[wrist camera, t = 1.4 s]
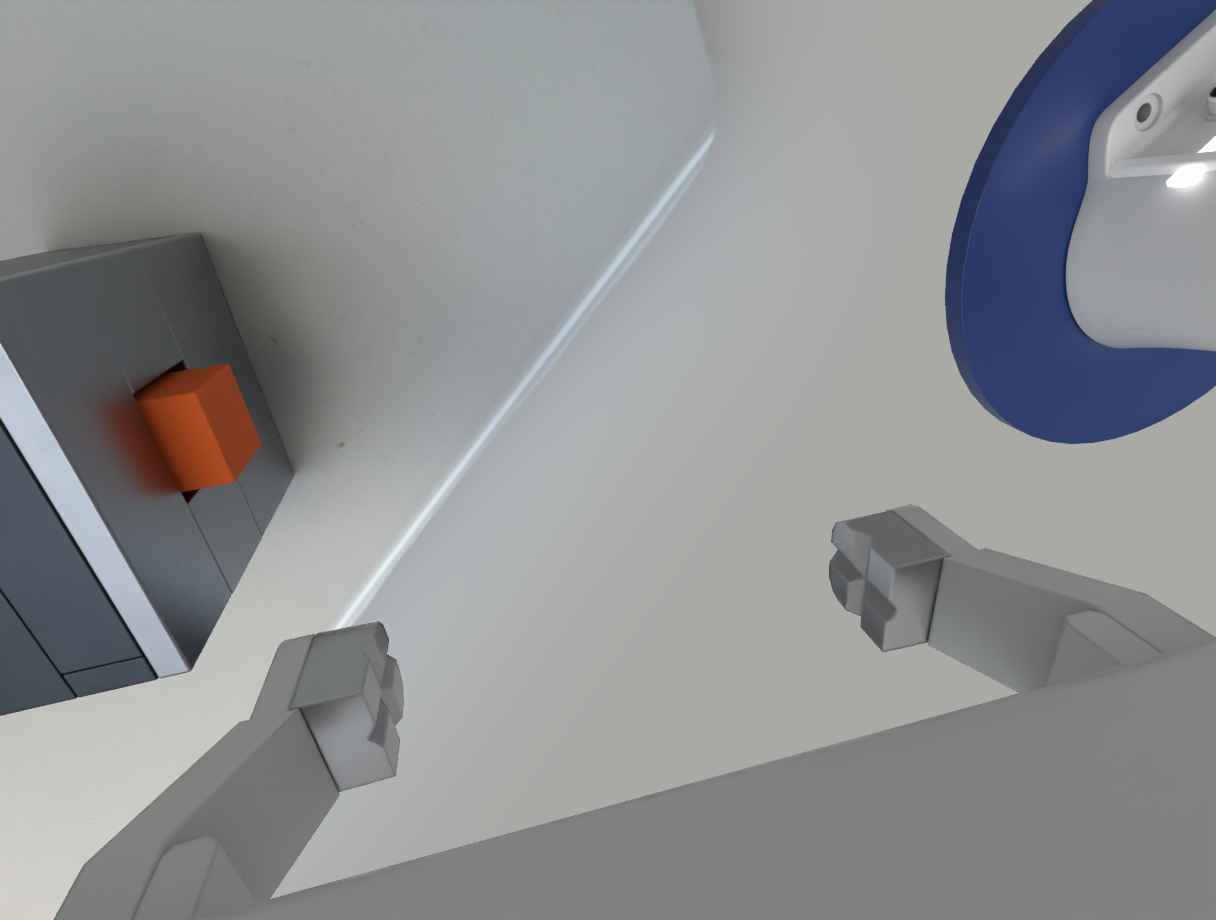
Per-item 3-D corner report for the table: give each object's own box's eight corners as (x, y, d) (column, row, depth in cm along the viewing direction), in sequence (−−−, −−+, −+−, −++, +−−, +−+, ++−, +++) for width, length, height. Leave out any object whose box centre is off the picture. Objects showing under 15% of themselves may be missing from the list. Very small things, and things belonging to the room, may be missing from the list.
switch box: (199, 232, 26) (-29, 288, 14) (295, 475, 31) (192, 672, 19) (45, 252, 25) (-349, 330, 13) (170, 499, 31) (-22, 721, 18)
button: (229, 362, 23) (195, 392, 20) (262, 444, 24) (235, 482, 21) (136, 377, 22) (87, 409, 19) (176, 459, 24) (136, 501, 21)
